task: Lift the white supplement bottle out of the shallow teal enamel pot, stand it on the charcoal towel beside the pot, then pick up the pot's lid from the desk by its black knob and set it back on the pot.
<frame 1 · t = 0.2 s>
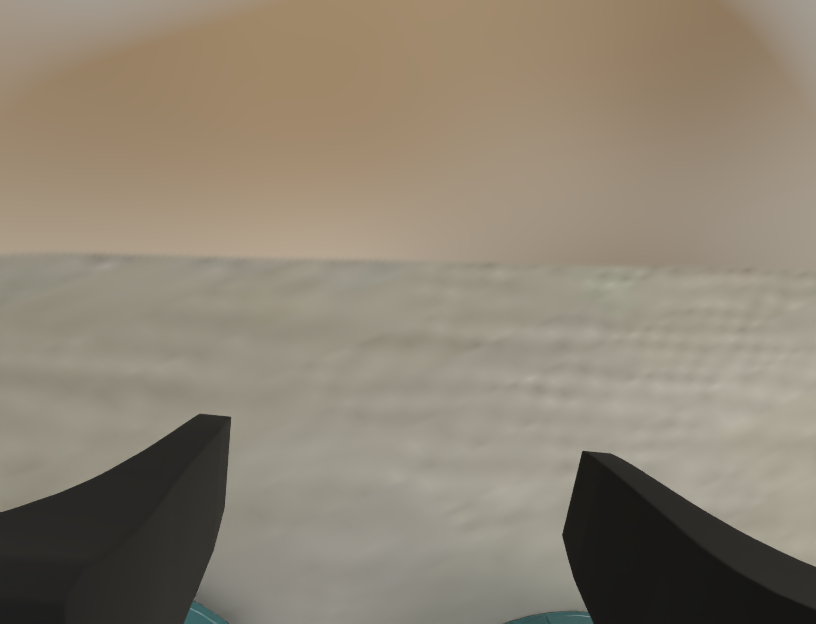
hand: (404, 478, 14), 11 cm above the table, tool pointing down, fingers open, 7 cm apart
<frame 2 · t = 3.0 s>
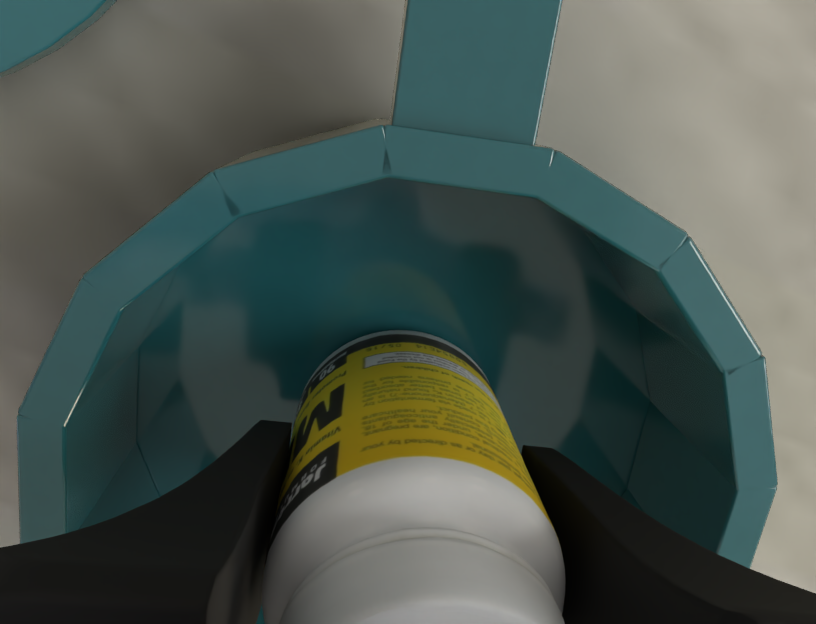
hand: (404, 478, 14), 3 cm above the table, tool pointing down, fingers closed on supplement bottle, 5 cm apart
pot: (396, 414, 16), on the table
supplement bottle: (396, 416, 16), resting on pot, touching gripper
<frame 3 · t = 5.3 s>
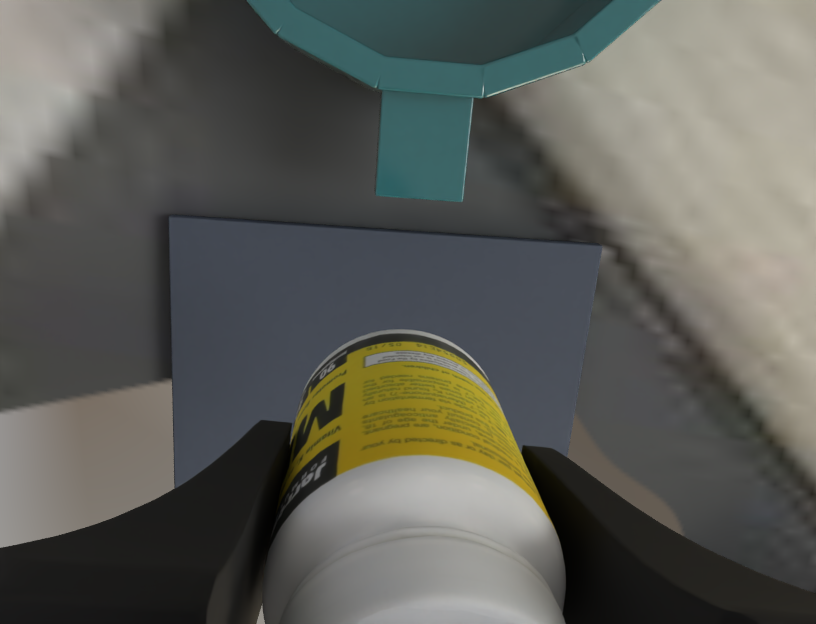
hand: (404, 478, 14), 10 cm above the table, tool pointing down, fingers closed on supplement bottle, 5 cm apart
supplement bottle: (396, 415, 16), point 7 cm above the table, touching gripper
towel: (379, 384, 24), on the table
when the fingers open (3 cm above the table, at t = 7.6 s): supplement bottle stays where it is, resting on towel.
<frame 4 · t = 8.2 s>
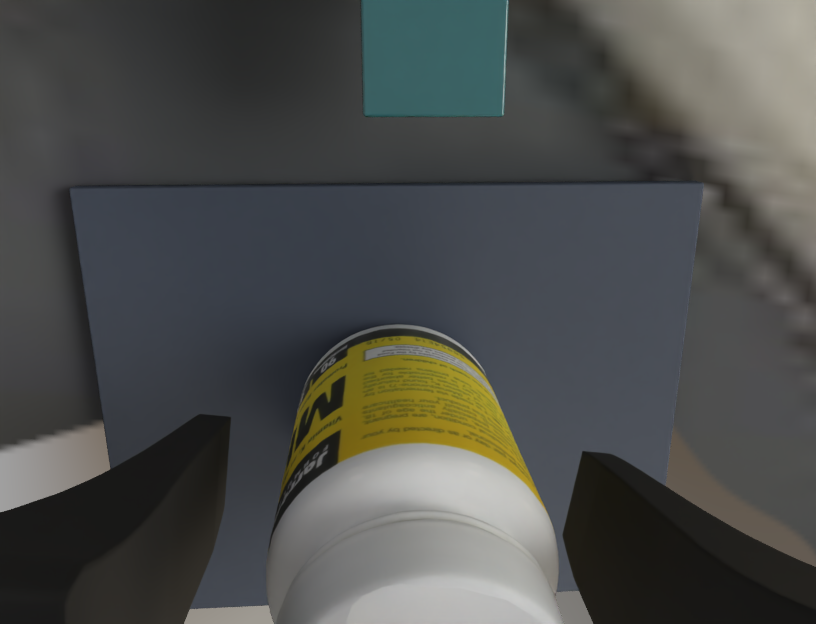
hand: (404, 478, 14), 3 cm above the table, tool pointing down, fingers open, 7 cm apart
supplement bottle: (395, 409, 17), resting on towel
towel: (396, 406, 17), on the table
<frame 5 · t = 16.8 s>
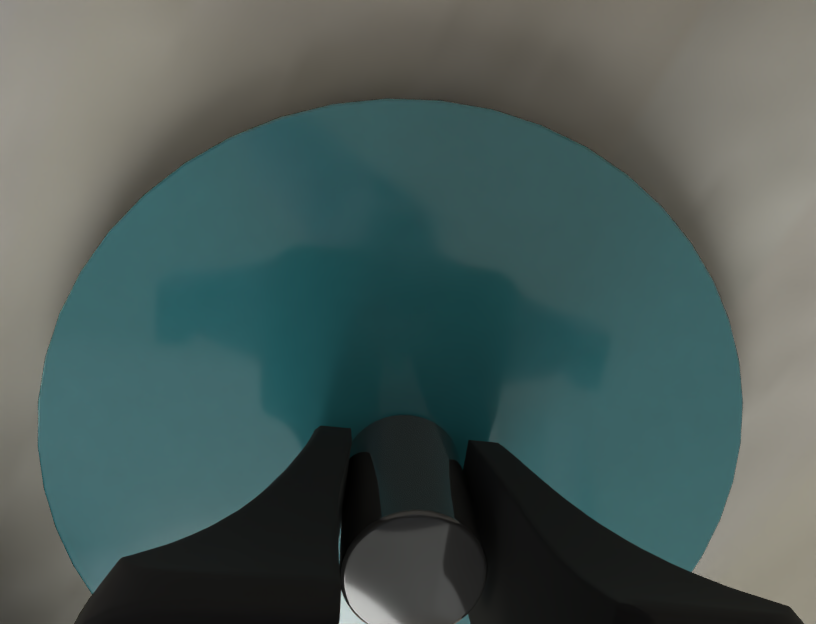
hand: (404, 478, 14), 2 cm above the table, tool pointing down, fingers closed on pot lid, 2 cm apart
pot lid: (400, 453, 15), point 1 cm above the table, touching gripper
when the fingers open (5 cm above the table, at t = 21.0 s): pot lid stays where it is, resting on pot.
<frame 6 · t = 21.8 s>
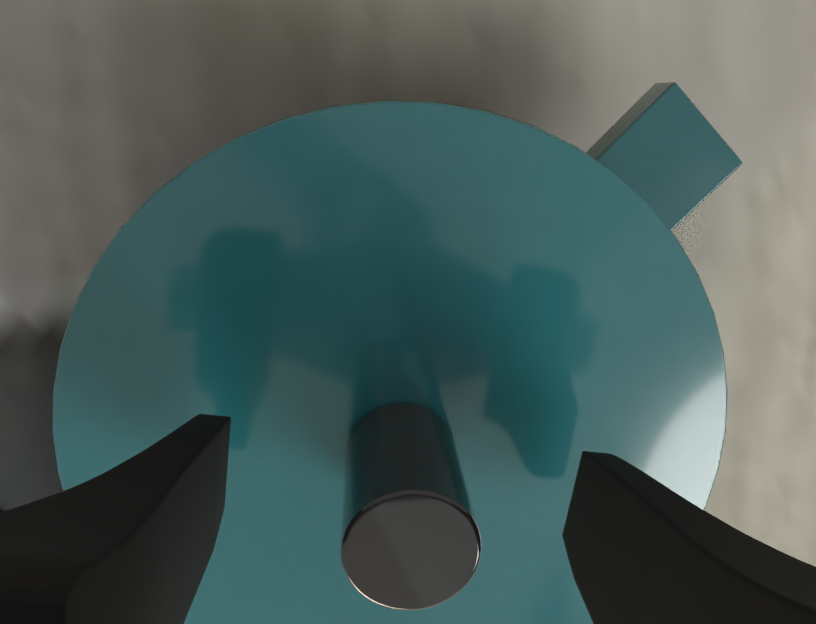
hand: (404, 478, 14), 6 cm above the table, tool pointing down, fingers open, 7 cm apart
pot: (392, 367, 19), on the table
pot lid: (399, 440, 15), point 4 cm above the table, touching pot
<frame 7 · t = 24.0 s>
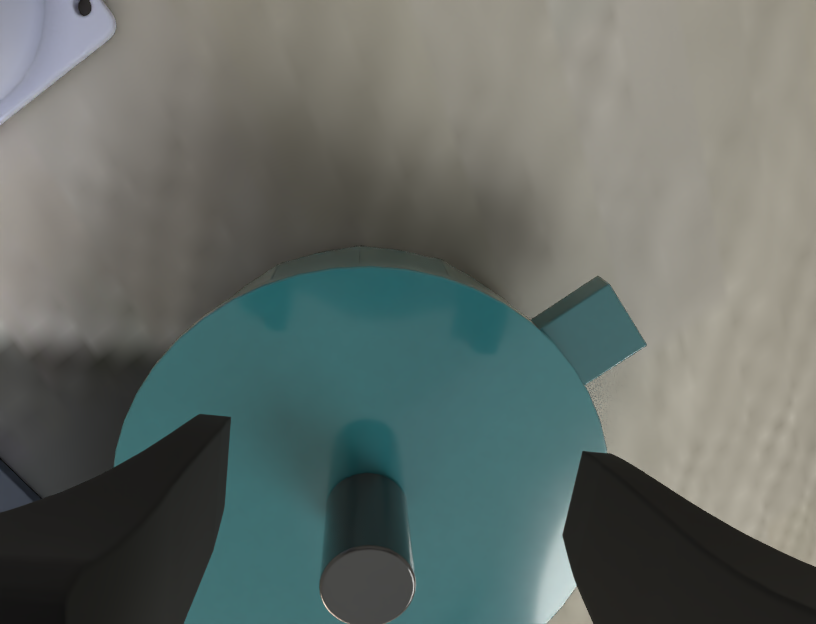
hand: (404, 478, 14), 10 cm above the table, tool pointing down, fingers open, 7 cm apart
pot: (366, 431, 25), on the table
pot lid: (366, 497, 20), point 4 cm above the table, touching pot
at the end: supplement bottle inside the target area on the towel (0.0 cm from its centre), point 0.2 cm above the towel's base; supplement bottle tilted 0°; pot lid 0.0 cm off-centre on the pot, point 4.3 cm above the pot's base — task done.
